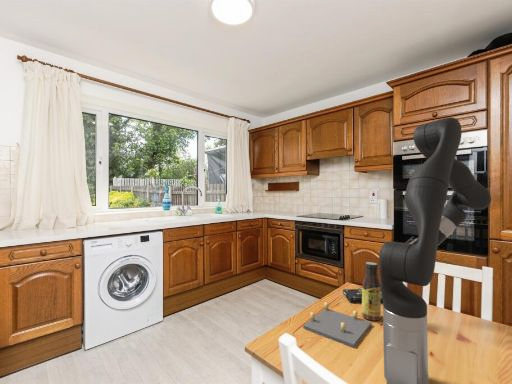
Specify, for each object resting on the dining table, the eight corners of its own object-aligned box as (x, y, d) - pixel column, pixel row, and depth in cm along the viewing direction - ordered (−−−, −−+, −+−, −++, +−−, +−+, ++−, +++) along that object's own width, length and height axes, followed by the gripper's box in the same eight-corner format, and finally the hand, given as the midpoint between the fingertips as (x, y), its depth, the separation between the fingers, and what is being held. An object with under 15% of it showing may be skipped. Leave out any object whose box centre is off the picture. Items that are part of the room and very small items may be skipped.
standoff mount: (353, 347, 74) (353, 335, 74) (303, 328, 85) (303, 318, 85) (371, 325, 87) (371, 315, 87) (325, 310, 98) (325, 301, 98)
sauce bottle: (369, 323, 89) (369, 266, 89) (358, 314, 95) (357, 261, 95) (385, 320, 90) (384, 264, 91) (372, 312, 96) (372, 260, 97)
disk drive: (350, 305, 105) (386, 304, 104) (350, 298, 105) (386, 297, 104) (342, 295, 115) (375, 294, 115) (342, 289, 115) (375, 288, 115)
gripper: (418, 220, 98) (387, 249, 99) (441, 225, 84) (405, 259, 85) (433, 234, 97) (402, 263, 98) (458, 241, 83) (422, 275, 84)
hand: (403, 261), depth 92 cm, fingers open, 8 cm apart
